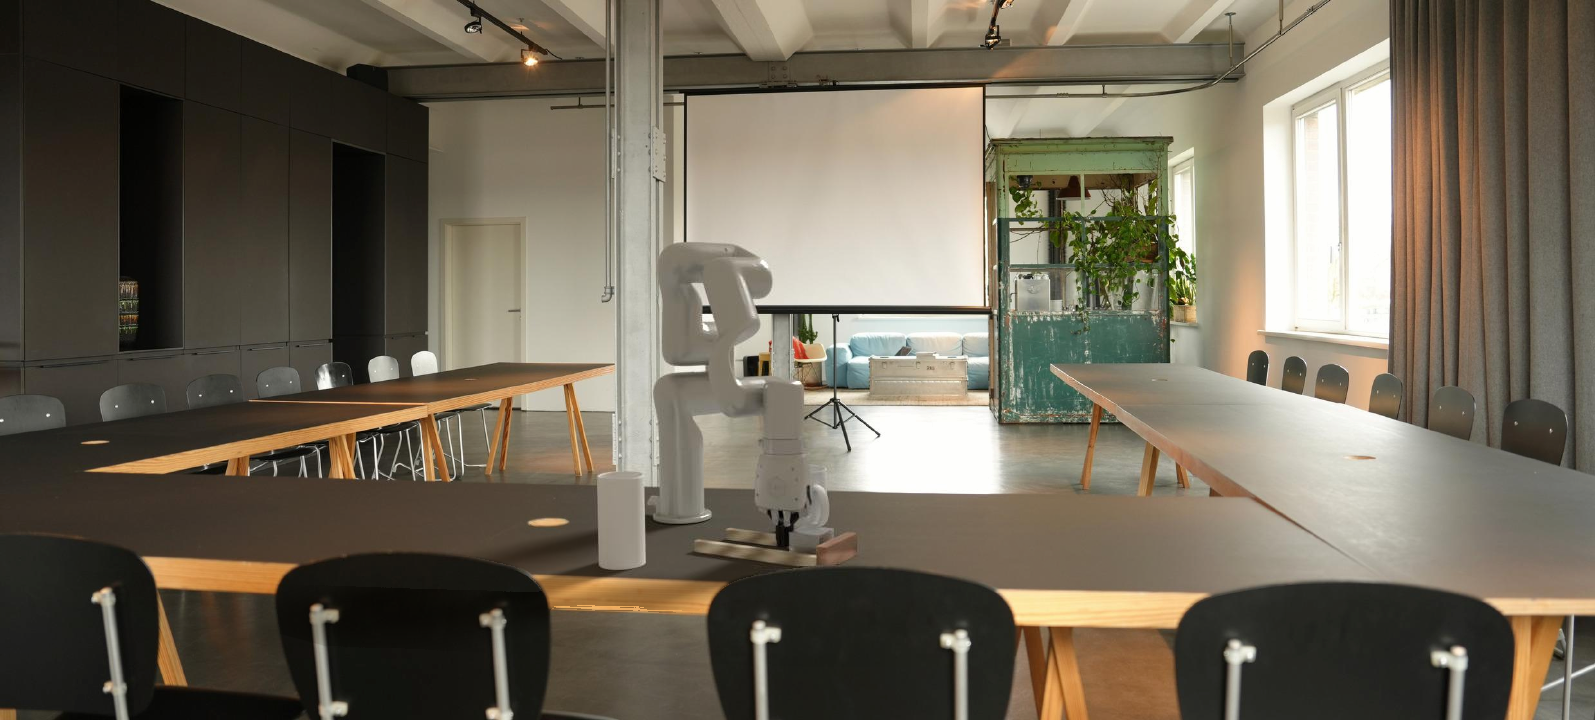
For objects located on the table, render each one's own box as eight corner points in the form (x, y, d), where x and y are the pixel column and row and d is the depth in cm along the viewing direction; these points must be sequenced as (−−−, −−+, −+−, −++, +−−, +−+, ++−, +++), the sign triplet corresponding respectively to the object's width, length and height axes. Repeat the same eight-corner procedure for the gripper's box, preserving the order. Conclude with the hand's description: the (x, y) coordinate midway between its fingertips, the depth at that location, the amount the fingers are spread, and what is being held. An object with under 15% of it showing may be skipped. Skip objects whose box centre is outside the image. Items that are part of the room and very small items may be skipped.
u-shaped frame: (694, 551, 179) (693, 530, 179) (729, 537, 189) (729, 517, 189) (826, 570, 165) (826, 547, 165) (857, 554, 176) (857, 533, 175)
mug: (849, 537, 189) (849, 471, 188) (803, 545, 183) (802, 477, 182) (807, 523, 201) (806, 461, 201) (762, 530, 195) (761, 467, 194)
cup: (601, 558, 175) (600, 471, 174) (647, 556, 176) (645, 470, 175) (596, 570, 167) (594, 479, 166) (643, 568, 167) (642, 478, 167)
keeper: (789, 559, 173) (789, 531, 173) (804, 551, 178) (804, 525, 178) (819, 563, 170) (818, 535, 170) (833, 555, 175) (833, 528, 175)
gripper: (738, 447, 176) (739, 545, 177) (809, 452, 168) (810, 555, 169) (760, 441, 182) (761, 536, 183) (829, 447, 175) (830, 546, 176)
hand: (784, 545), depth 176 cm, fingers closed
